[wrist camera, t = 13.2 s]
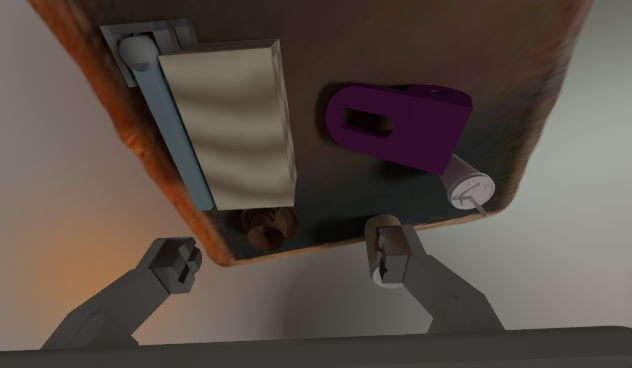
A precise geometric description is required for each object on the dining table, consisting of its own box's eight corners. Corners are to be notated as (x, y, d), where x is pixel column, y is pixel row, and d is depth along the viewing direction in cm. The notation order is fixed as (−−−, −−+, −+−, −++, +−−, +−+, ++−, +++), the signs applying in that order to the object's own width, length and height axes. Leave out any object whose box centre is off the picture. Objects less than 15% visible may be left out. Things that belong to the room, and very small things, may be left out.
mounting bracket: (341, 124, 47) (444, 150, 42) (322, 142, 41) (442, 176, 35) (349, 69, 42) (470, 91, 36) (329, 80, 35) (473, 108, 30)
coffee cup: (363, 243, 58) (373, 292, 48) (357, 215, 53) (367, 263, 43) (403, 237, 57) (422, 285, 47) (402, 207, 52) (423, 254, 42)
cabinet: (144, 21, 32) (95, 26, 25) (275, 11, 32) (264, 13, 24) (206, 179, 47) (187, 211, 40) (296, 174, 46) (293, 206, 39)
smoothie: (419, 170, 46) (454, 224, 35) (439, 140, 43) (485, 190, 31) (449, 179, 47) (492, 234, 36) (471, 150, 44) (526, 201, 33)
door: (152, 31, 33) (104, 39, 25) (183, 28, 33) (143, 36, 25) (208, 176, 47) (188, 211, 39) (230, 175, 46) (214, 209, 39)
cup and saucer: (240, 191, 49) (232, 213, 44) (301, 197, 50) (300, 219, 45) (243, 233, 56) (236, 256, 51) (296, 238, 57) (295, 260, 52)
